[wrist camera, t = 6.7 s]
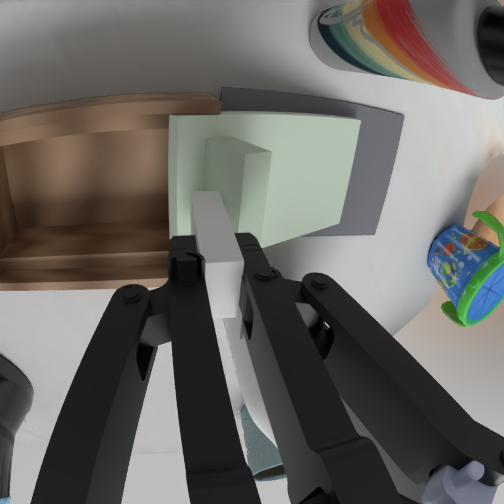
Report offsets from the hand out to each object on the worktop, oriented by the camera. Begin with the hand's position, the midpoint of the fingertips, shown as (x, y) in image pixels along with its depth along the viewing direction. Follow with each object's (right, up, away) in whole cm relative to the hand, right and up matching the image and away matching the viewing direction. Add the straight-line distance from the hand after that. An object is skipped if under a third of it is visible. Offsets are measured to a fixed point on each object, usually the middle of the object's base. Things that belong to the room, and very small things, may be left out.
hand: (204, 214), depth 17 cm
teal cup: (+5, -28, +31) cm, 42 cm away
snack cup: (+29, -1, +20) cm, 35 cm away
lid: (+4, +3, +5) cm, 8 cm away
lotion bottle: (+10, +15, +4) cm, 18 cm away
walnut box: (-10, +4, +5) cm, 12 cm away
